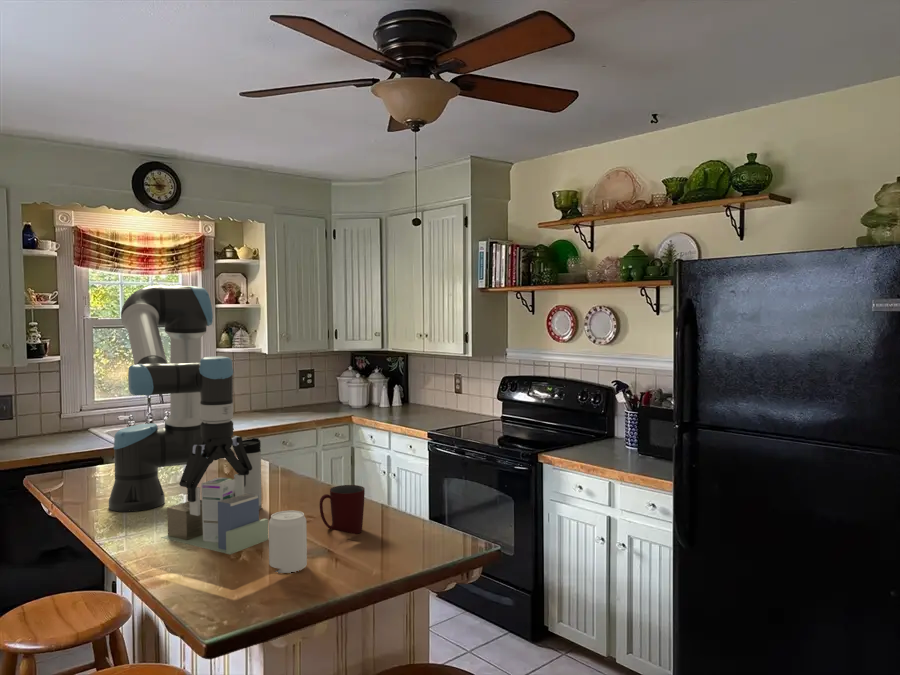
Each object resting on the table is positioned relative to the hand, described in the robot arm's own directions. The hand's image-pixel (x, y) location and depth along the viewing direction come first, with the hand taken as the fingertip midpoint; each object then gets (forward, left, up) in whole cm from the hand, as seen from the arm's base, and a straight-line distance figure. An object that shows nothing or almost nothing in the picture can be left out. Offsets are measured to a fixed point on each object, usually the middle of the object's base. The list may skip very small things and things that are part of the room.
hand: (217, 507), depth 171 cm
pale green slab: (-1, 0, -9) cm, 9 cm away
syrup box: (0, 0, -8) cm, 8 cm away
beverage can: (+26, -3, -9) cm, 28 cm away
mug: (+20, +23, -9) cm, 32 cm away
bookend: (-9, 0, -8) cm, 12 cm away
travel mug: (-17, +27, -9) cm, 33 cm away
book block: (+7, 0, -8) cm, 11 cm away
